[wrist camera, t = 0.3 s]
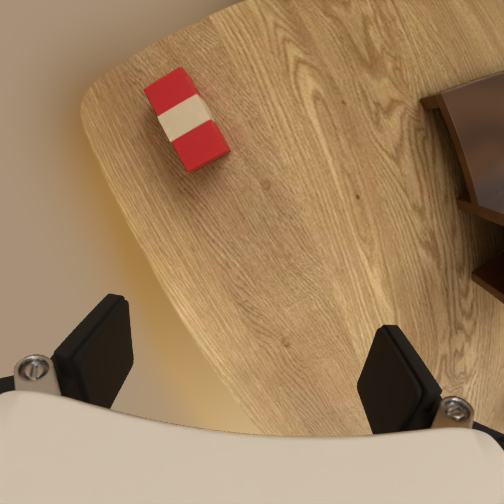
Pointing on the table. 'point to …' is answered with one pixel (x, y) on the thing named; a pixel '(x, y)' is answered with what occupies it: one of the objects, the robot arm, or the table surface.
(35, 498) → the robot arm
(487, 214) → the step rack
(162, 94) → the rectangular block
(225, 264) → the table surface
